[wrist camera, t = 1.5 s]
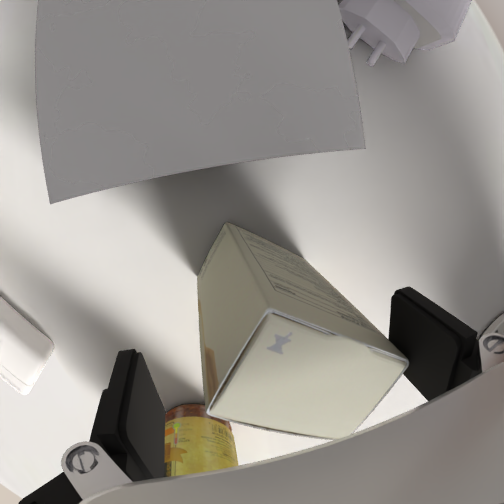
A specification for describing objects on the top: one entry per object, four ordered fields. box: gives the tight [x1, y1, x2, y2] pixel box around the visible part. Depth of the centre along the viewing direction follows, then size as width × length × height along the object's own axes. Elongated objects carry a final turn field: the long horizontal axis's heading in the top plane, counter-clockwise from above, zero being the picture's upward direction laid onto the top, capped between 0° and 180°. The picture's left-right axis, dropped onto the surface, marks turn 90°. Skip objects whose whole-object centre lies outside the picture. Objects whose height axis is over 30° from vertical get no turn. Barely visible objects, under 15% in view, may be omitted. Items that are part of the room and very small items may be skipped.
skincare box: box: [197, 222, 409, 440], centre depth 15 cm, size 6×4×12 cm
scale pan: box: [35, 0, 366, 204], centre depth 12 cm, size 14×16×4 cm
